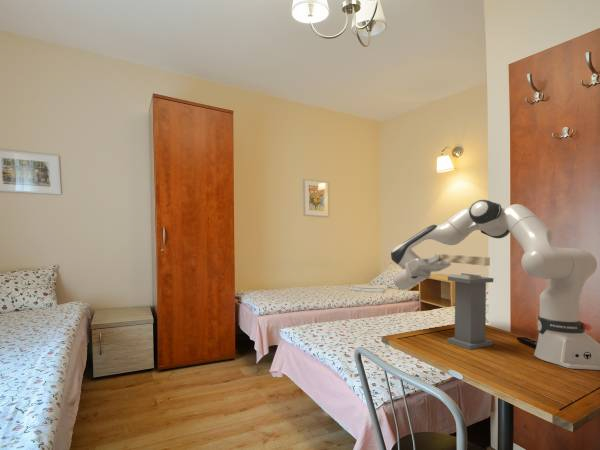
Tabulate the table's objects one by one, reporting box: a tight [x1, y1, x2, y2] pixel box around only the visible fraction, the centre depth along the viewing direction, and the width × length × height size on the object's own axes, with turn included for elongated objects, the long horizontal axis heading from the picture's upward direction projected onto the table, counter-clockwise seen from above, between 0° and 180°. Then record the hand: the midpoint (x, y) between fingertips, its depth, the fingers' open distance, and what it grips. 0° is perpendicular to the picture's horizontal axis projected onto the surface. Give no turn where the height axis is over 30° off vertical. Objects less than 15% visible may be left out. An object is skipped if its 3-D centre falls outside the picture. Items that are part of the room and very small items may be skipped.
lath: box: [434, 253, 491, 267], centre depth 139 cm, size 22×3×3 cm, turn 28°
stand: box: [446, 272, 494, 350], centre depth 138 cm, size 10×14×27 cm
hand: (442, 256), depth 147 cm, fingers closed on lath, 3 cm apart
